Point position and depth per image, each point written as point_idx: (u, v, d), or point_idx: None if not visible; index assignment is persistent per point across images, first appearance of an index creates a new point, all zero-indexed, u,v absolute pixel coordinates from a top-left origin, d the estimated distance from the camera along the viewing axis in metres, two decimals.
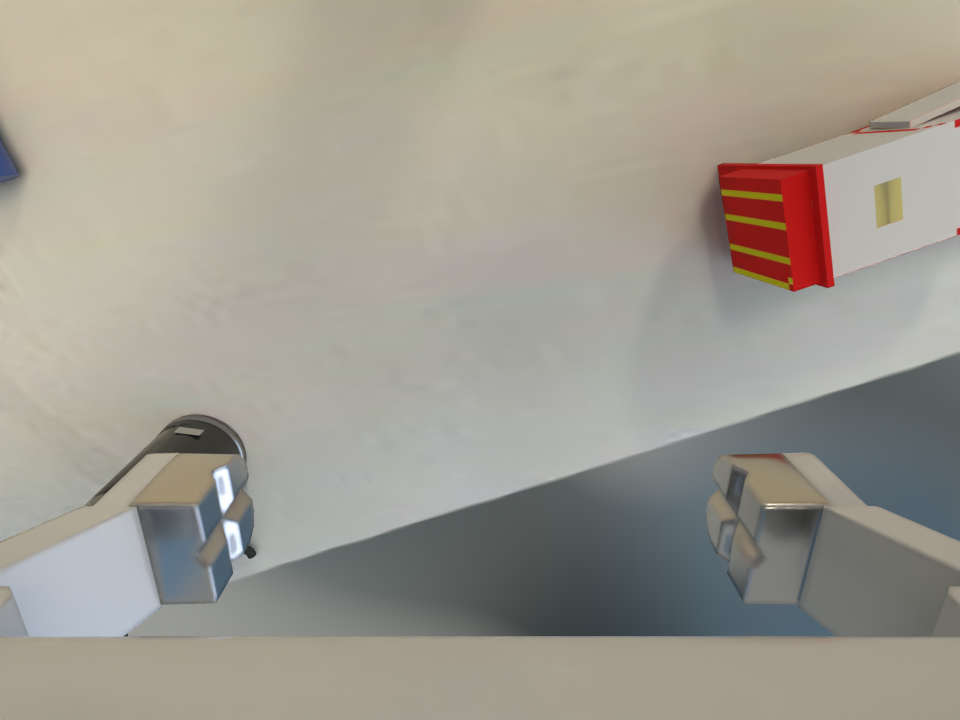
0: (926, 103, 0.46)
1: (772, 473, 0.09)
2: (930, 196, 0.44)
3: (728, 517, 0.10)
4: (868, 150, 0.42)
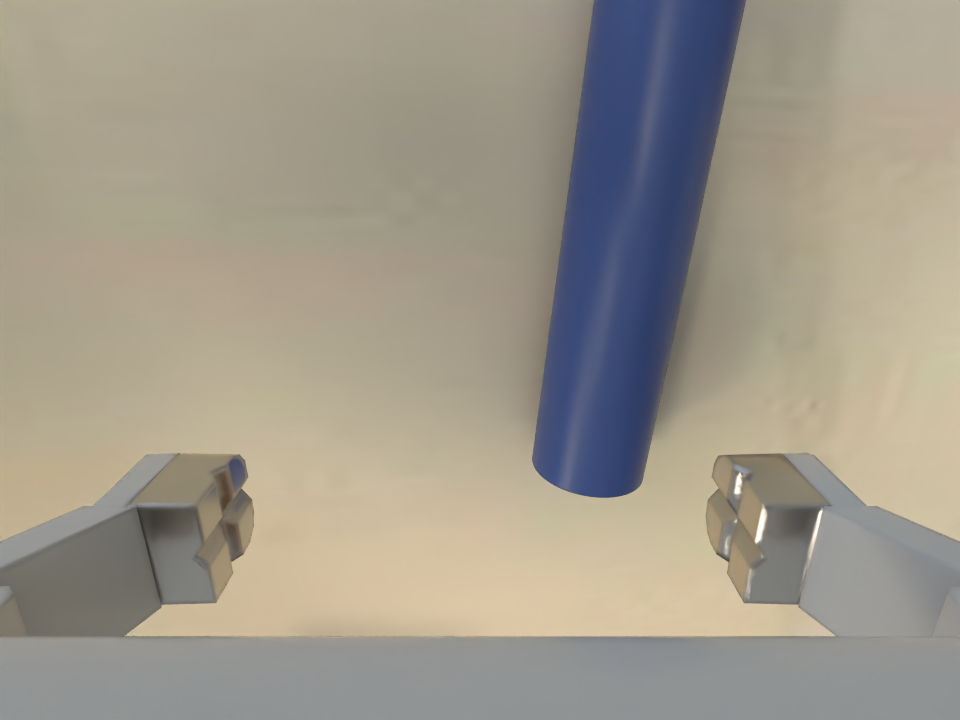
0: None
1: (772, 473, 0.09)
2: None
3: (728, 518, 0.10)
4: None
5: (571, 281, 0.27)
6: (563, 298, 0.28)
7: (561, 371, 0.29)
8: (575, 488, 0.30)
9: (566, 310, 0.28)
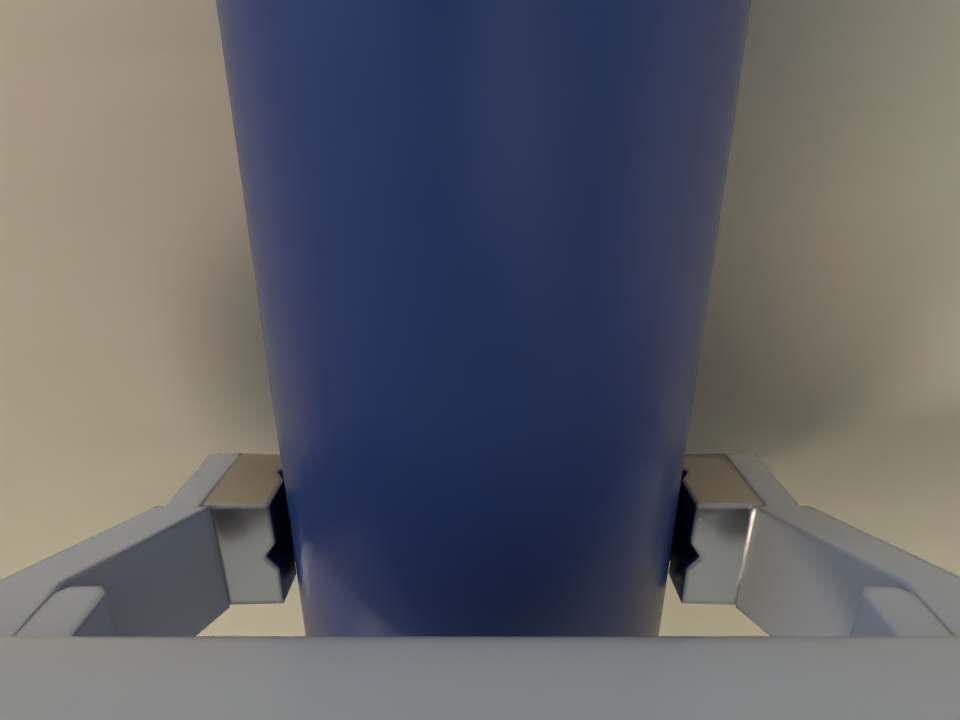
0: None
1: (711, 473, 0.09)
2: None
3: None
4: None
5: (221, 8, 0.06)
6: None
7: (280, 411, 0.07)
8: None
9: (241, 156, 0.07)
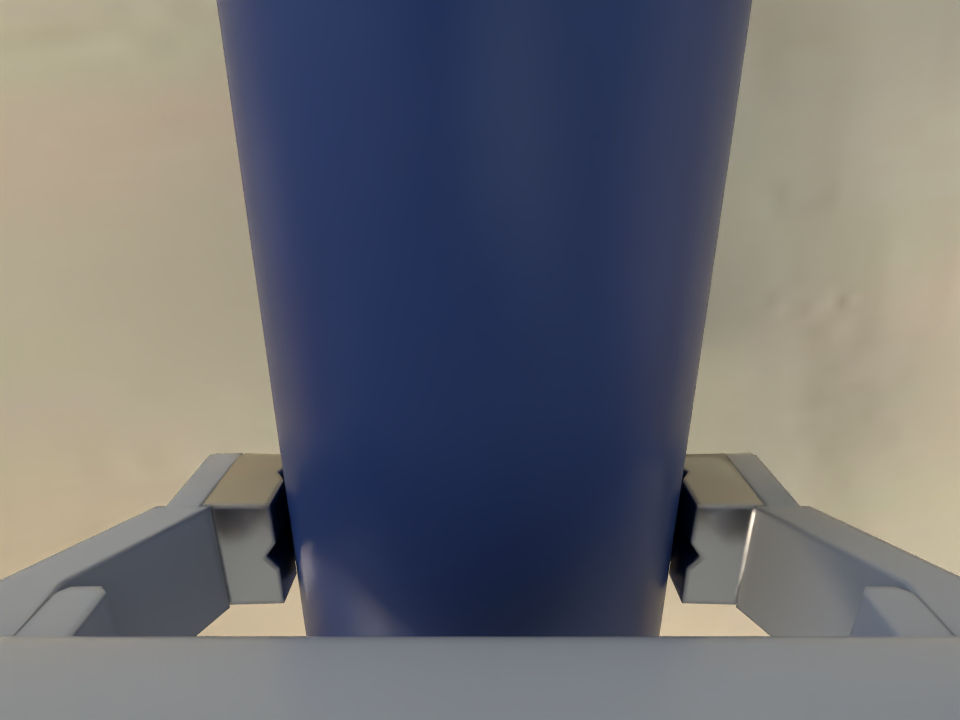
0: None
1: (711, 473, 0.09)
2: None
3: None
4: None
5: (221, 8, 0.06)
6: (233, 109, 0.07)
7: (280, 411, 0.07)
8: None
9: (241, 156, 0.07)
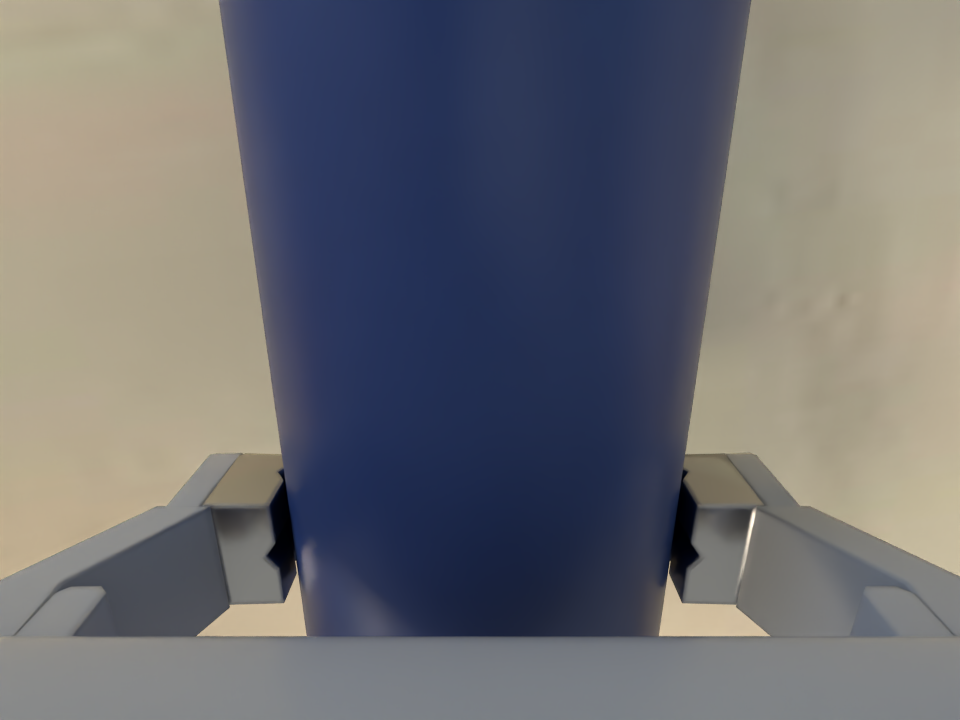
0: None
1: (711, 473, 0.09)
2: None
3: None
4: None
5: (224, 9, 0.06)
6: (234, 109, 0.07)
7: (281, 411, 0.07)
8: None
9: (243, 156, 0.07)
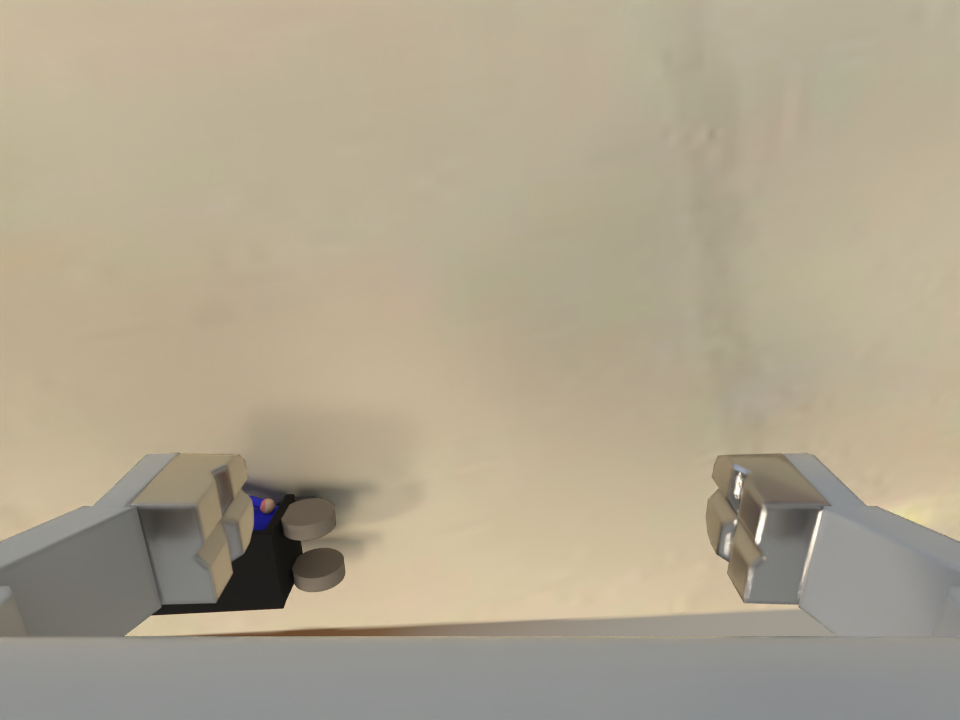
0: None
1: (772, 473, 0.09)
2: None
3: (729, 517, 0.10)
4: None
5: None
6: None
7: None
8: None
9: None
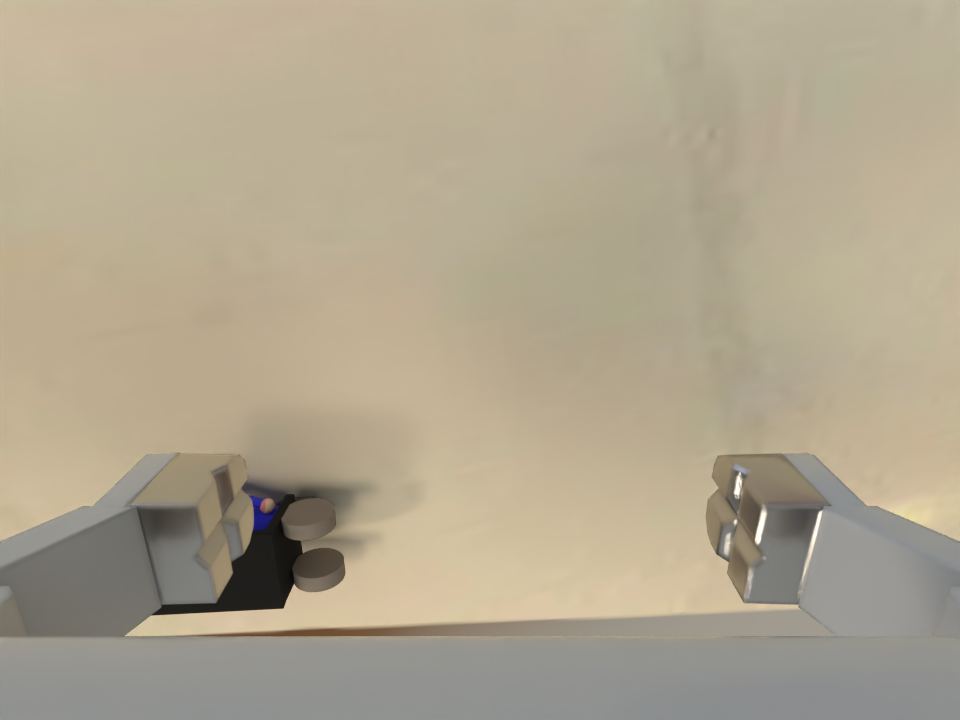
0: None
1: (772, 473, 0.09)
2: None
3: (728, 518, 0.10)
4: None
5: None
6: None
7: None
8: None
9: None
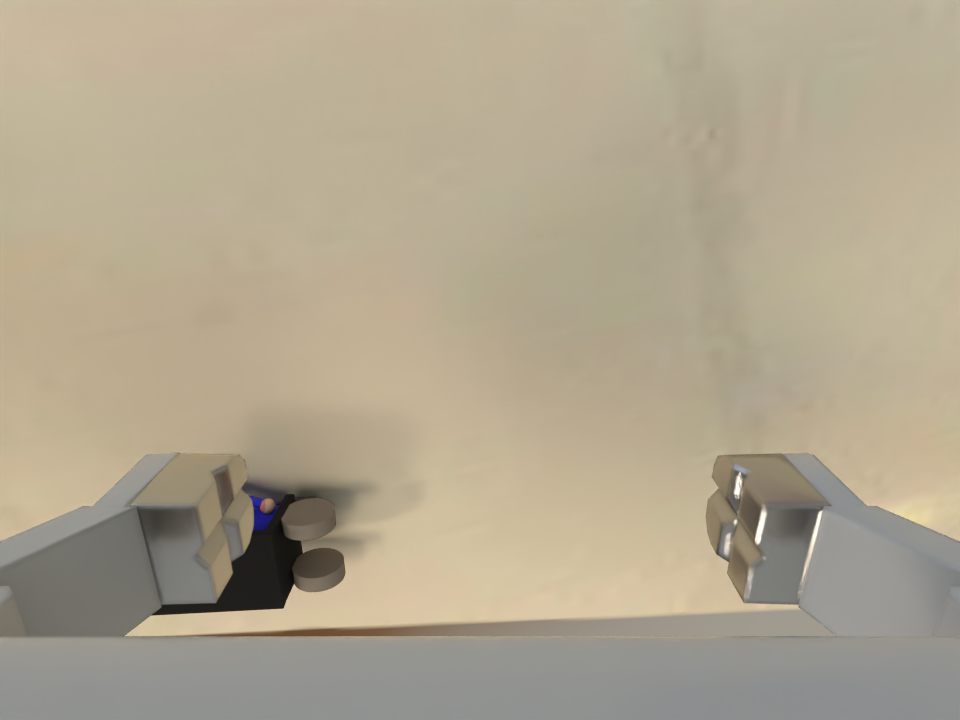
0: None
1: (772, 473, 0.09)
2: None
3: (728, 518, 0.10)
4: None
5: None
6: None
7: None
8: None
9: None
